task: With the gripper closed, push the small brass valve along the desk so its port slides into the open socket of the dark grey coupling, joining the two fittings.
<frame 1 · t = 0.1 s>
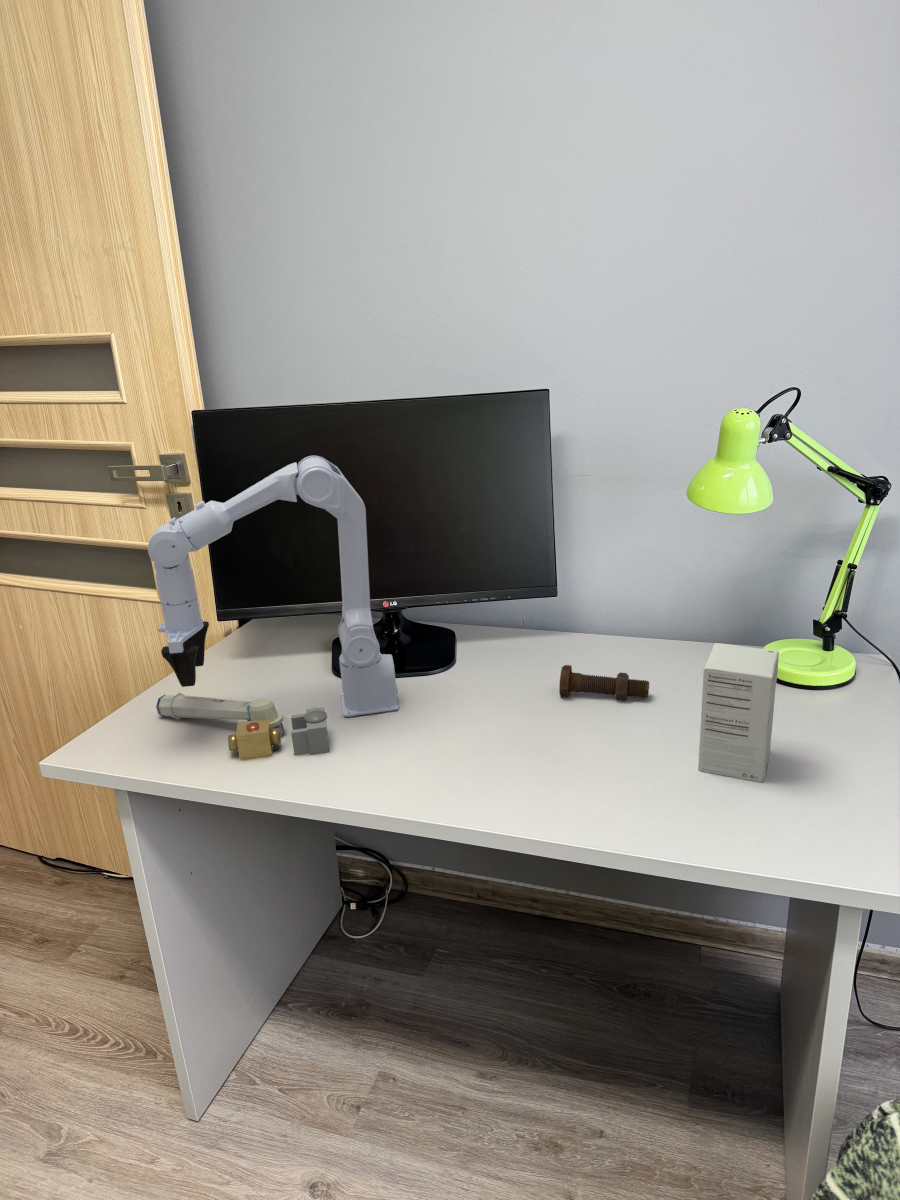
hand: (193, 675, 138), 10 cm above the table, tool pointing down, fingers open, 7 cm apart
bolt: (604, 698, 145), on the table
valve: (256, 751, 134), on the table
coupling: (312, 743, 135), on the table
supplement box: (734, 762, 123), on the table
toothbrush head: (222, 726, 143), on the table
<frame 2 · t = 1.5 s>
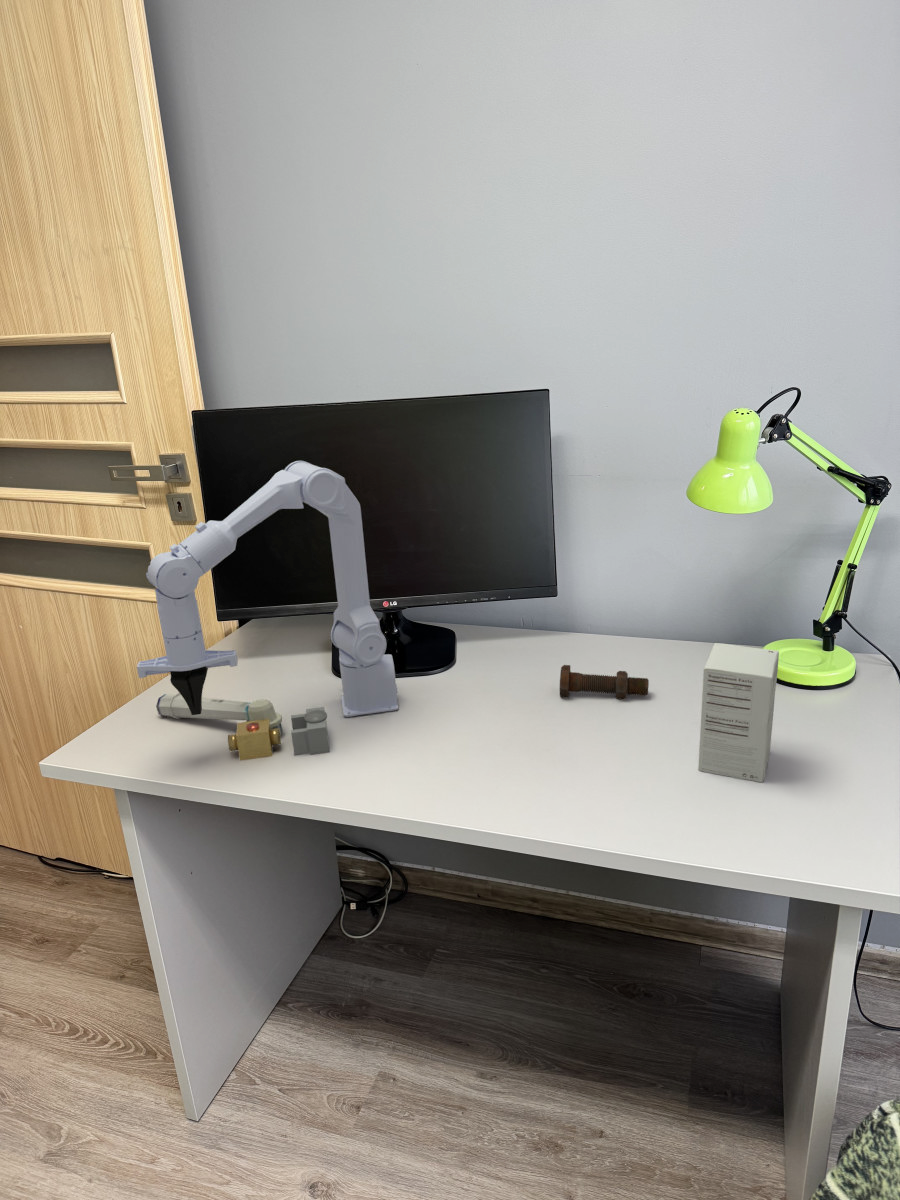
hand: (196, 711, 130), 8 cm above the table, tool pointing down, fingers closed
nothing on the table moved.
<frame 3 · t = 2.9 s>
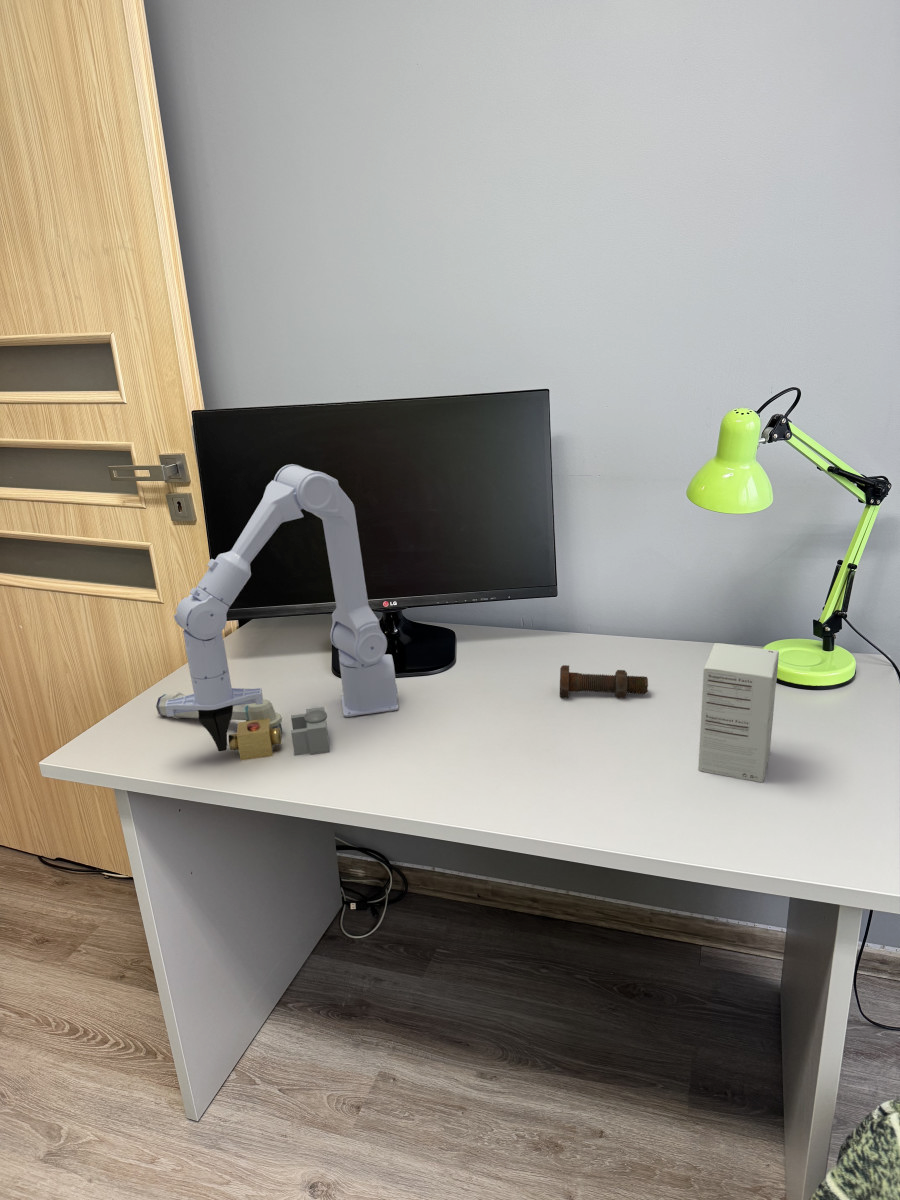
hand: (222, 748, 133), 1 cm above the table, tool pointing down, fingers closed
valve: (257, 751, 134), on the table, touching gripper
everything else where it was.
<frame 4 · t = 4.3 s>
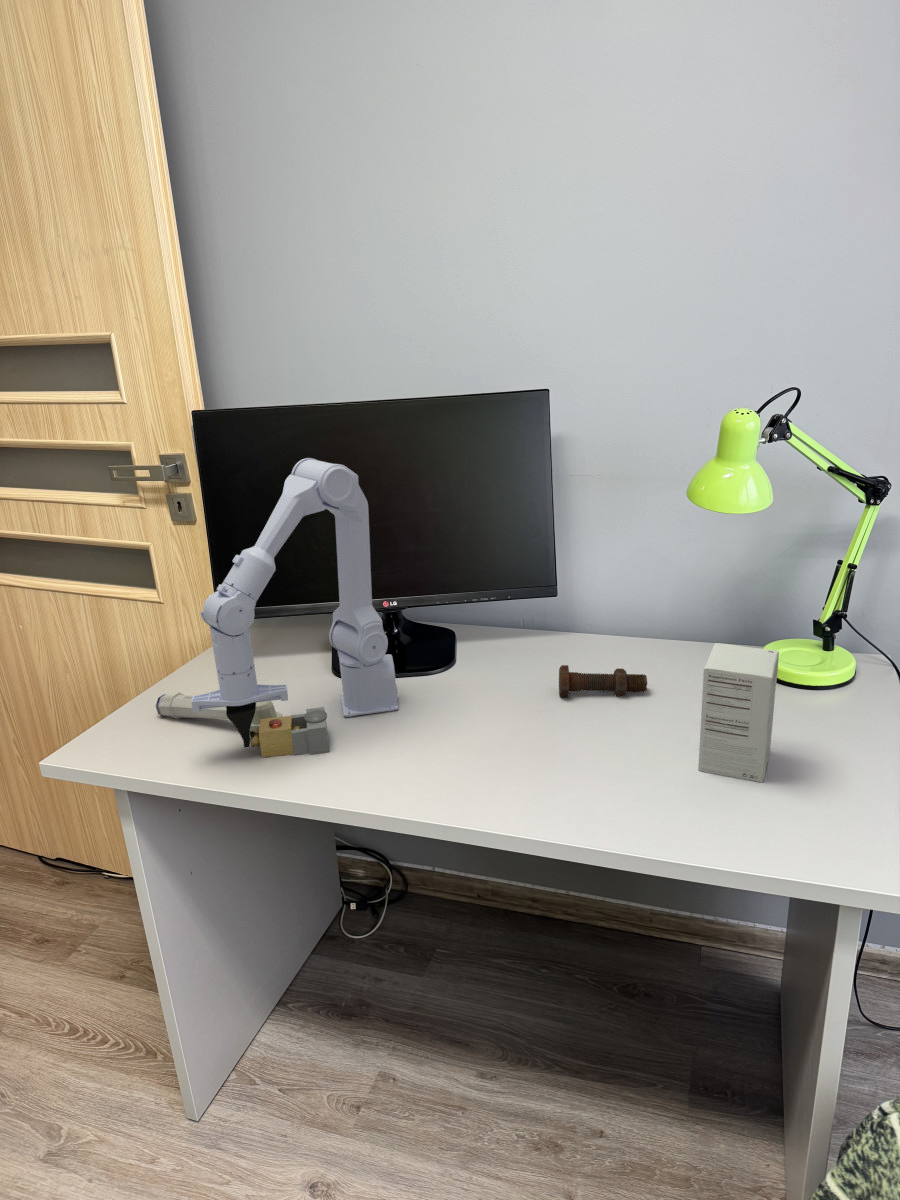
hand: (247, 744, 133), 1 cm above the table, tool pointing down, fingers closed
valve: (278, 748, 134), on the table, touching coupling, gripper
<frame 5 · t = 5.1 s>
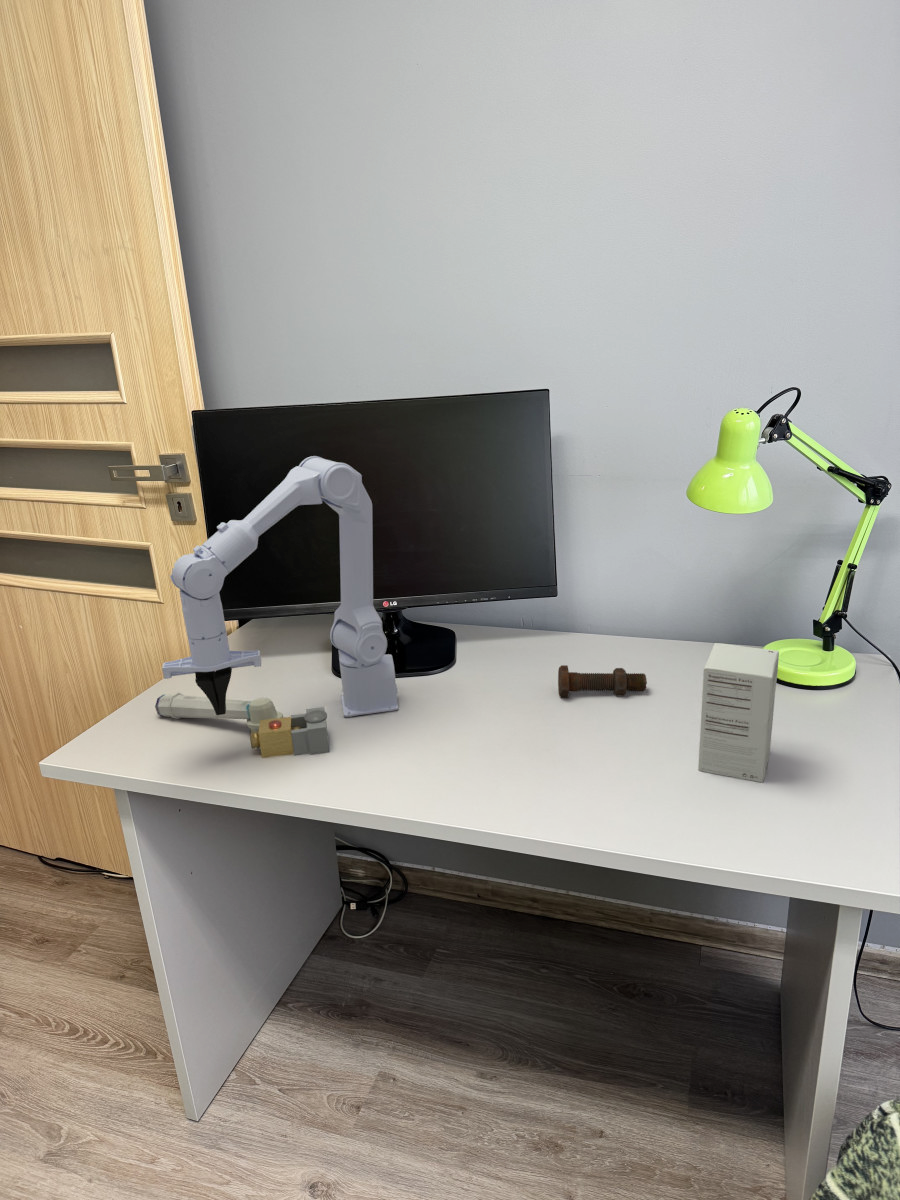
hand: (221, 711, 130), 8 cm above the table, tool pointing down, fingers closed
valve: (278, 749, 134), on the table
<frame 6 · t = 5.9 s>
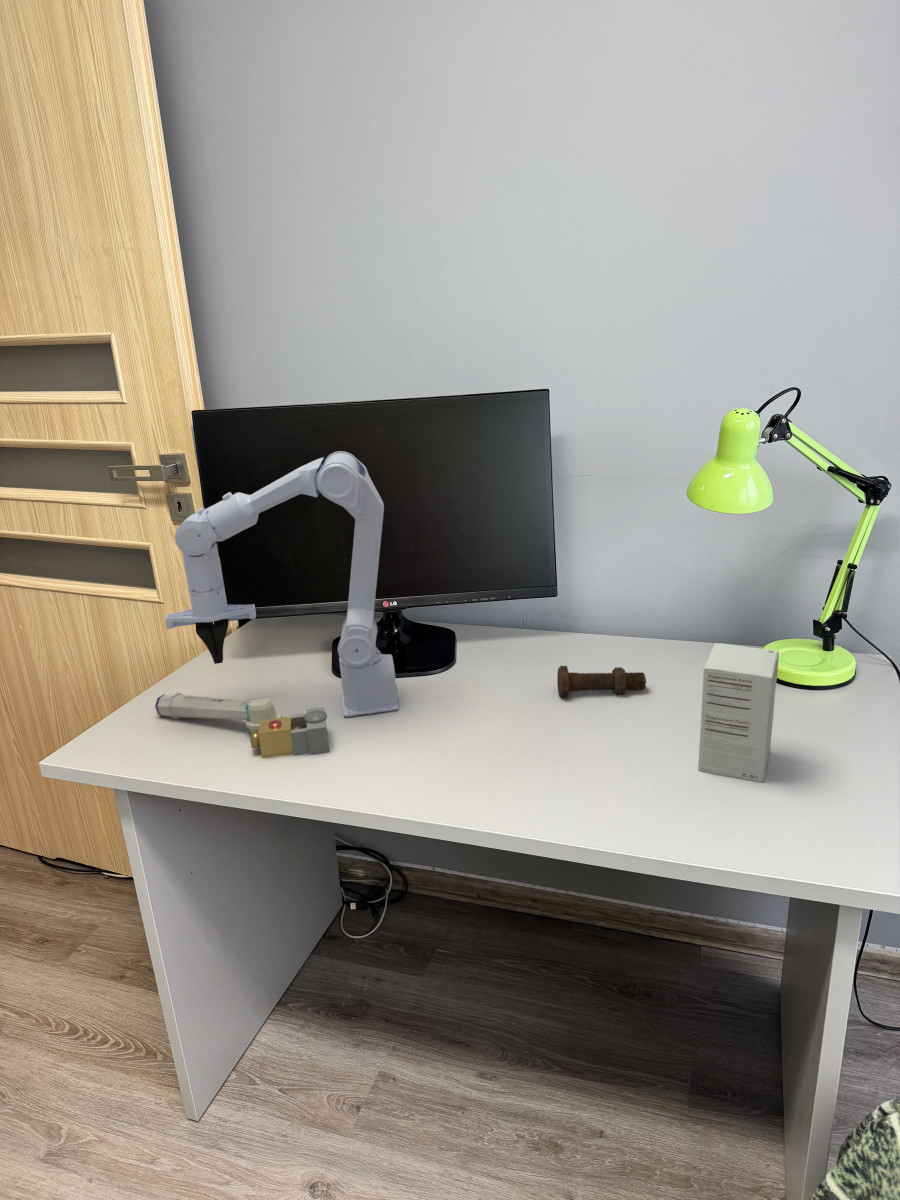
hand: (218, 661, 143), 10 cm above the table, tool pointing down, fingers closed
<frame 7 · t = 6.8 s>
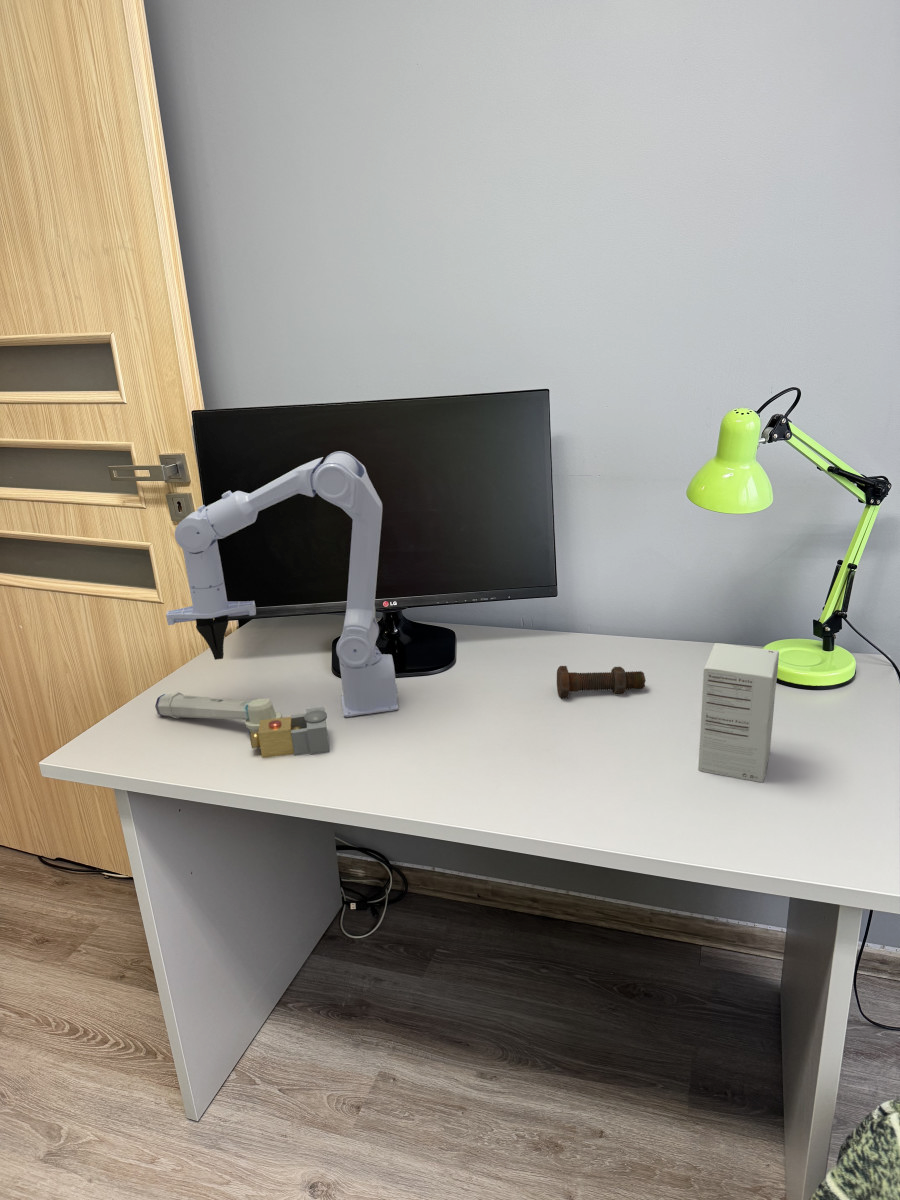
hand: (219, 657, 144), 10 cm above the table, tool pointing down, fingers closed
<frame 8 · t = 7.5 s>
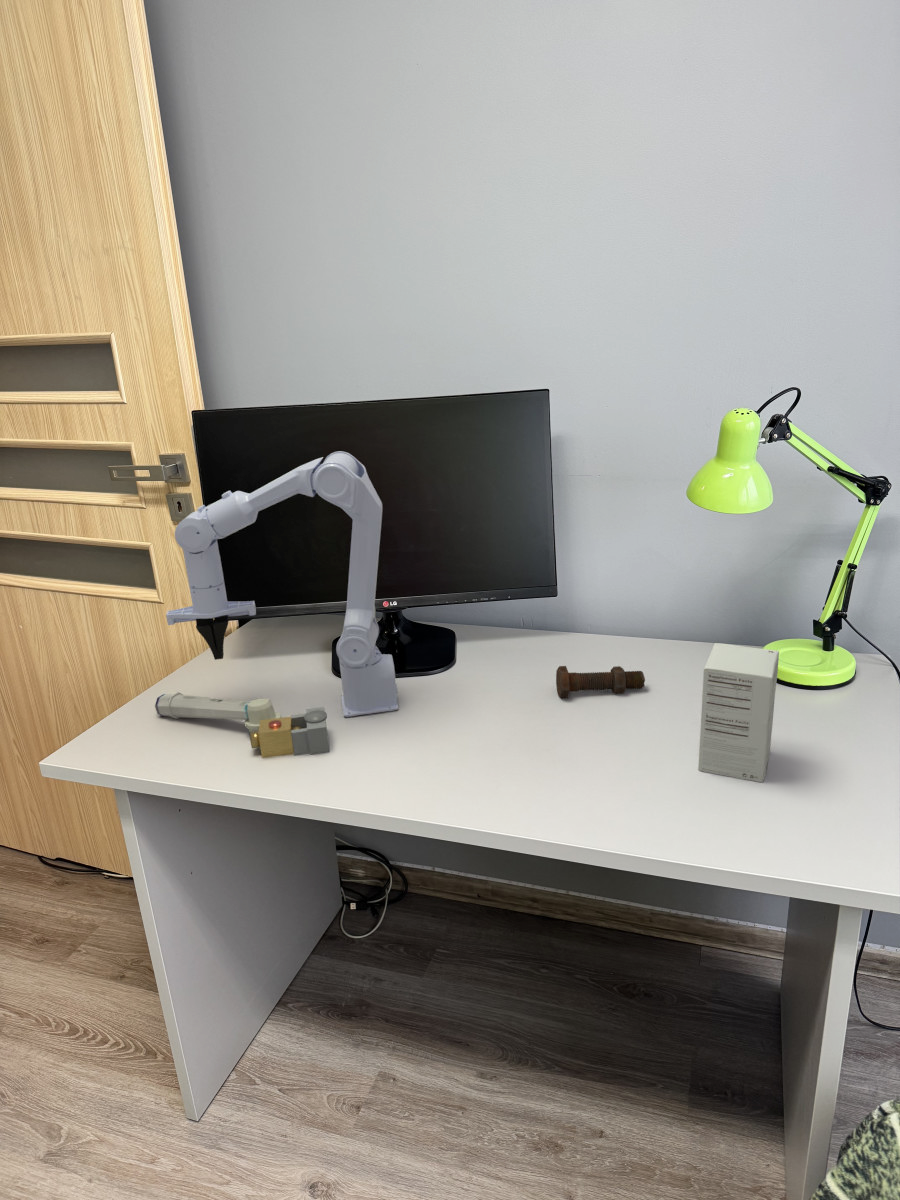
hand: (219, 657, 144), 10 cm above the table, tool pointing down, fingers closed
at the end: valve 0.3 cm from the target spot, on the table; valve tilted 0° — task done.
